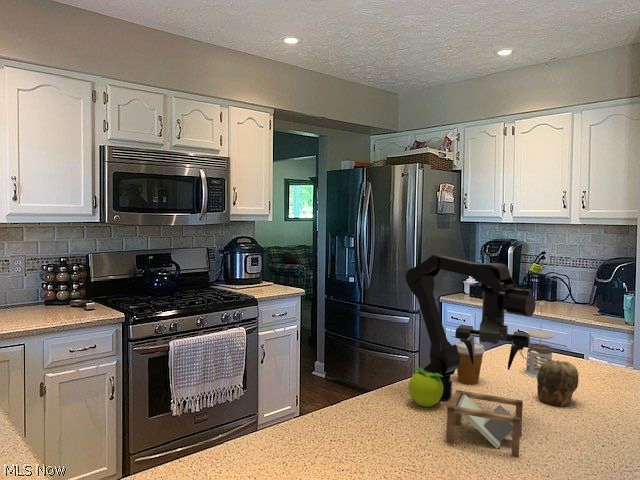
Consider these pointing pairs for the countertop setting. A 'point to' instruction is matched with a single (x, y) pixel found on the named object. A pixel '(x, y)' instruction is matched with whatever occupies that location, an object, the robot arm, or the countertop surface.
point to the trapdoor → (477, 420)
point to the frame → (485, 415)
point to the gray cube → (499, 425)
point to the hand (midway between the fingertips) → (490, 366)
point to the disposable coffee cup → (469, 363)
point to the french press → (541, 349)
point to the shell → (557, 382)
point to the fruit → (426, 388)
